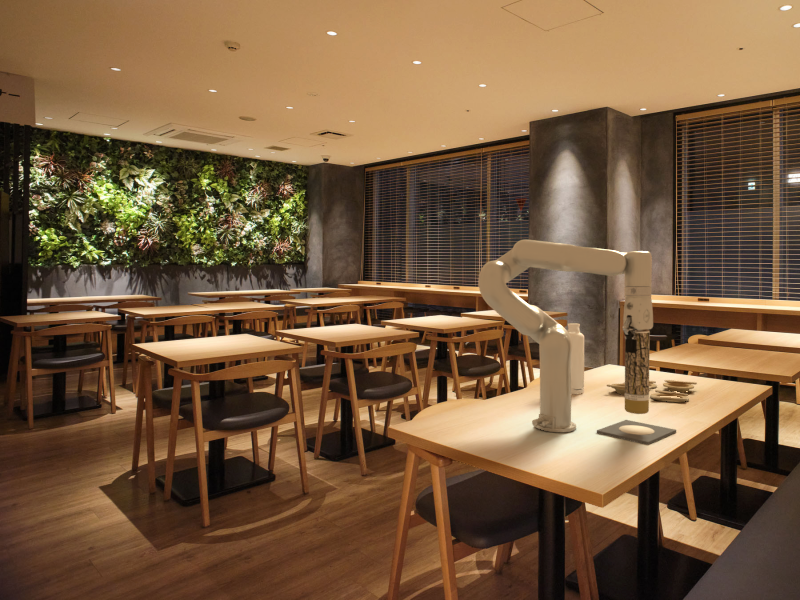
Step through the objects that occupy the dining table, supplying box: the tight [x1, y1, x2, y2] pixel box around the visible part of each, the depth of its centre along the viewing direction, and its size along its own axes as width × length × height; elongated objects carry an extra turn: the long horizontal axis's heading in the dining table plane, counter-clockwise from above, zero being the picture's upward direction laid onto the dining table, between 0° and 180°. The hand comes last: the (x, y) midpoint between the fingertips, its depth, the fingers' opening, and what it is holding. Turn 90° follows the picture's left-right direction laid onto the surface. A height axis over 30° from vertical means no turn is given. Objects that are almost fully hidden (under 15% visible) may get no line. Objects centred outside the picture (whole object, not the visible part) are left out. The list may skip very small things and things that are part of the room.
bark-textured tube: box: [624, 329, 651, 415], centre depth 171 cm, size 7×7×25 cm
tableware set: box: [606, 379, 698, 403], centre depth 228 cm, size 35×29×4 cm
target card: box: [596, 419, 677, 445], centre depth 172 cm, size 18×16×1 cm
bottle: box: [567, 322, 585, 395], centre depth 229 cm, size 8×8×28 cm
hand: (637, 350), depth 171 cm, fingers closed on bark-textured tube, 6 cm apart
